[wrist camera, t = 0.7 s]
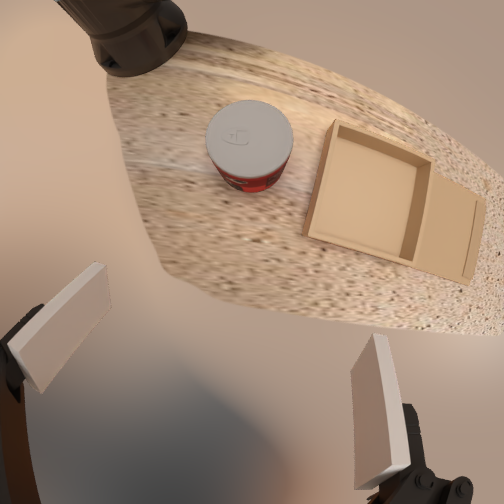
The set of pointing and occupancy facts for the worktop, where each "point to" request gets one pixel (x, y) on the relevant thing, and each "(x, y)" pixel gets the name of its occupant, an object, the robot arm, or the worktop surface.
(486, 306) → the worktop surface
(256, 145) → the canned food
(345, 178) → the mailer box
